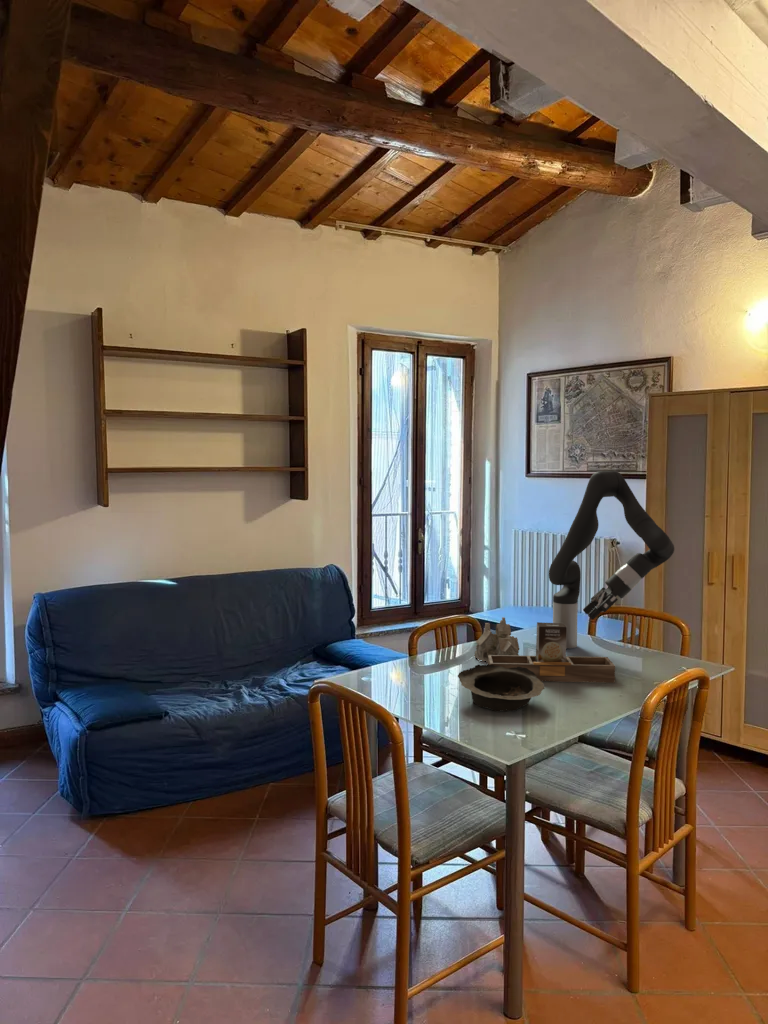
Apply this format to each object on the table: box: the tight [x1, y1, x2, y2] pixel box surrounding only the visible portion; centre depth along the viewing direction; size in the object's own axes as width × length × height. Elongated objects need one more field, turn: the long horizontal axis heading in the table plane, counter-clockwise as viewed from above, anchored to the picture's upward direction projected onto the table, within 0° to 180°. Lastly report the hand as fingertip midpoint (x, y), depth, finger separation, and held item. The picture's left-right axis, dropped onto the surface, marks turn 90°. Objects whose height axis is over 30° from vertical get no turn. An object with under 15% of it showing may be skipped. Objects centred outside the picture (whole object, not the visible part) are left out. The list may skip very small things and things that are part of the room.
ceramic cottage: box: [473, 616, 520, 663], centre depth 263 cm, size 16×16×15 cm
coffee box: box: [535, 622, 567, 662], centre depth 241 cm, size 9×6×16 cm
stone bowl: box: [457, 663, 546, 713], centre depth 214 cm, size 25×25×9 cm
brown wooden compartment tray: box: [487, 654, 616, 684], centre depth 241 cm, size 11×40×6 cm, turn 86°
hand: (587, 614), depth 240 cm, fingers open, 8 cm apart
